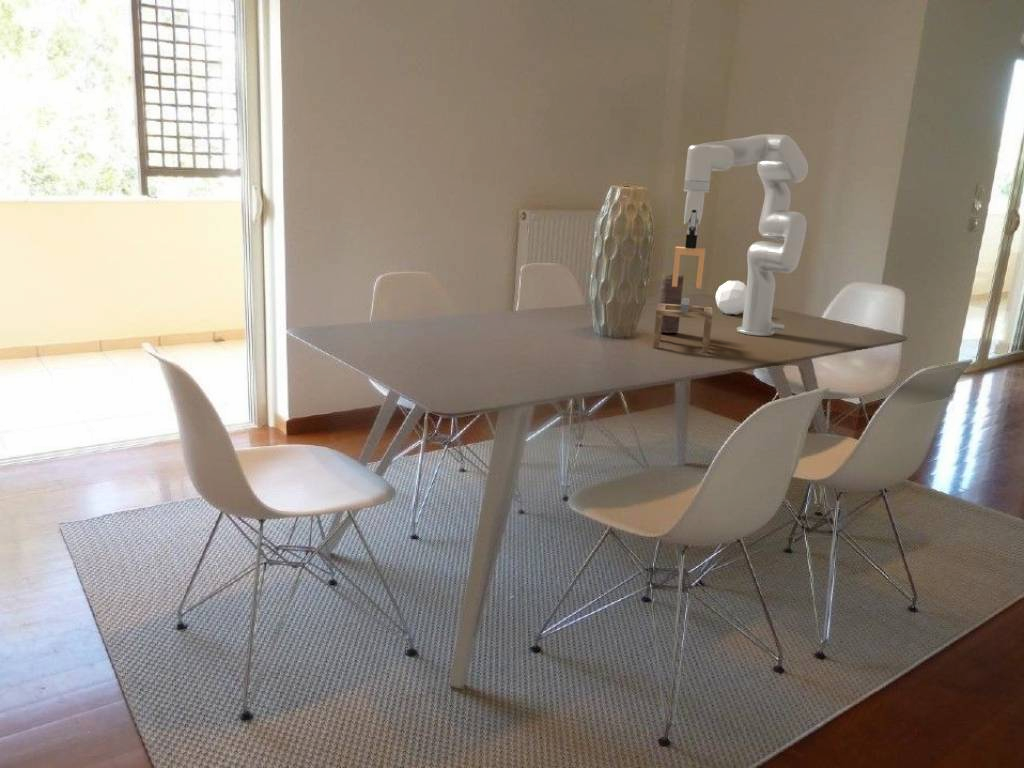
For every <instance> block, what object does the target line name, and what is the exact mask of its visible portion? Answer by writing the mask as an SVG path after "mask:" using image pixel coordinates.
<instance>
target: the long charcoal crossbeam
mask: <svg viewBox="0 0 1024 768" xmlns="http://www.w3.org/2000/svg"><path fill="white" fill-rule="evenodd" d="M690 300H691V299H690V297H682V298H681V311H680V312H685V313H688V311H689V306H690Z"/></svg>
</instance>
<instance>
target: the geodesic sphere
mask: <svg viewBox="0 0 1024 768" xmlns="http://www.w3.org/2000/svg"><path fill="white" fill-rule="evenodd" d="M746 287H747V282H745V281H740V280H738V279H736V280H735V279H734V280H727V281H726V282H724V283H723V284H721V285H719V287H718V289H717V290H716V292H715V303H716V306H717V308H718V309H719V310H720V311H721V312H722V313H724V314H725V315H732V314H734V315H735V316H737V315H740V314H741V313H743V312H744V304H745V296H746Z"/></svg>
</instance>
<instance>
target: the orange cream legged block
mask: <svg viewBox="0 0 1024 768" xmlns="http://www.w3.org/2000/svg"><path fill="white" fill-rule="evenodd" d="M689 232H690V231H689ZM687 234H688V230H687V231H686V235H687ZM674 251H675V253H674V262H673V272H672V275H673V280H672V286H674V287H677V284H678V275H680V274H679V273H680V264H681V263H680V262H681V256H682V255H683V256H696V257H697V256H698V264H697V265H698V266H697V274H696V275H697V276H696V285H695V288H696V289H701V290H702V285H703V284H702V283H703V275H704V267H705V266H704V265H705V258H706V248H703V247H696V248H695V249H692V248H686V247H685V246H678V245H677V246H675V250H674Z"/></svg>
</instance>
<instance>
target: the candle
mask: <svg viewBox="0 0 1024 768" xmlns="http://www.w3.org/2000/svg"><path fill="white" fill-rule="evenodd" d="M672 280H673V274H663V275H662V277H661V286H660V294H659V303H664V304H676V305H681V301H682V298H683V297H682V295H683V287H684V286H683V285H684V275H683V274H678V284H677V287H674V286H672ZM680 318H681V317H675V316H663V320H662V330H661V334H676V333H677V334H679V329H680V328H679V327H680V320H681V319H680Z"/></svg>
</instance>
